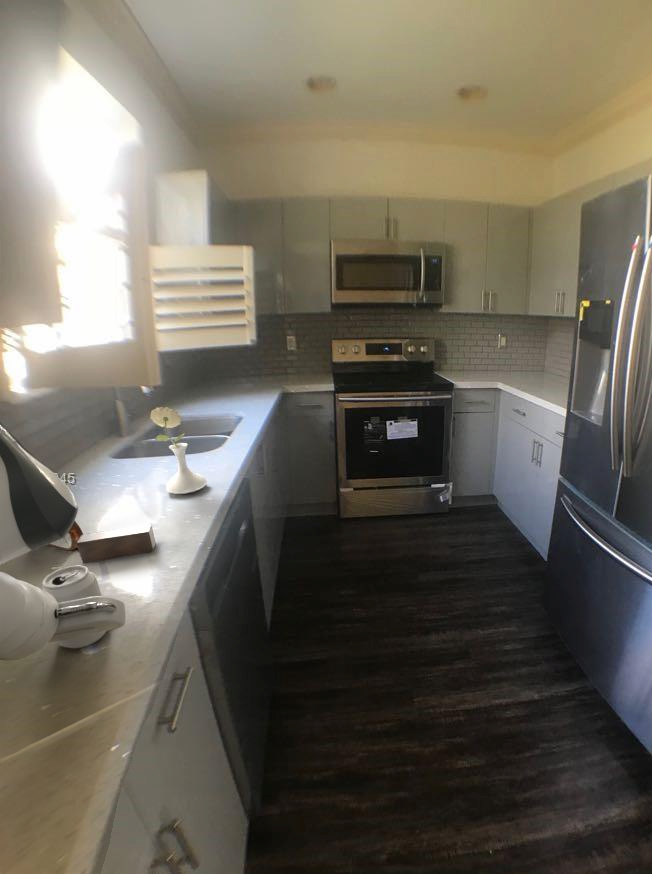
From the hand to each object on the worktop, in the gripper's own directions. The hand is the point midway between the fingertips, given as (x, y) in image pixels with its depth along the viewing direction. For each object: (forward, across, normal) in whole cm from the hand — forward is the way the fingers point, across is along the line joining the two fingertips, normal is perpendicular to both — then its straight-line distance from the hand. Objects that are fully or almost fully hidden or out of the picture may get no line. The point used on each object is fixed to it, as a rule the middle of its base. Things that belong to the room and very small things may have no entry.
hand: (61, 634), depth 68 cm
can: (+9, 0, -1) cm, 9 cm away
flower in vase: (+55, -11, -46) cm, 72 cm away
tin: (+36, +14, -27) cm, 48 cm away
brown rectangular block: (+30, 0, -21) cm, 37 cm away
